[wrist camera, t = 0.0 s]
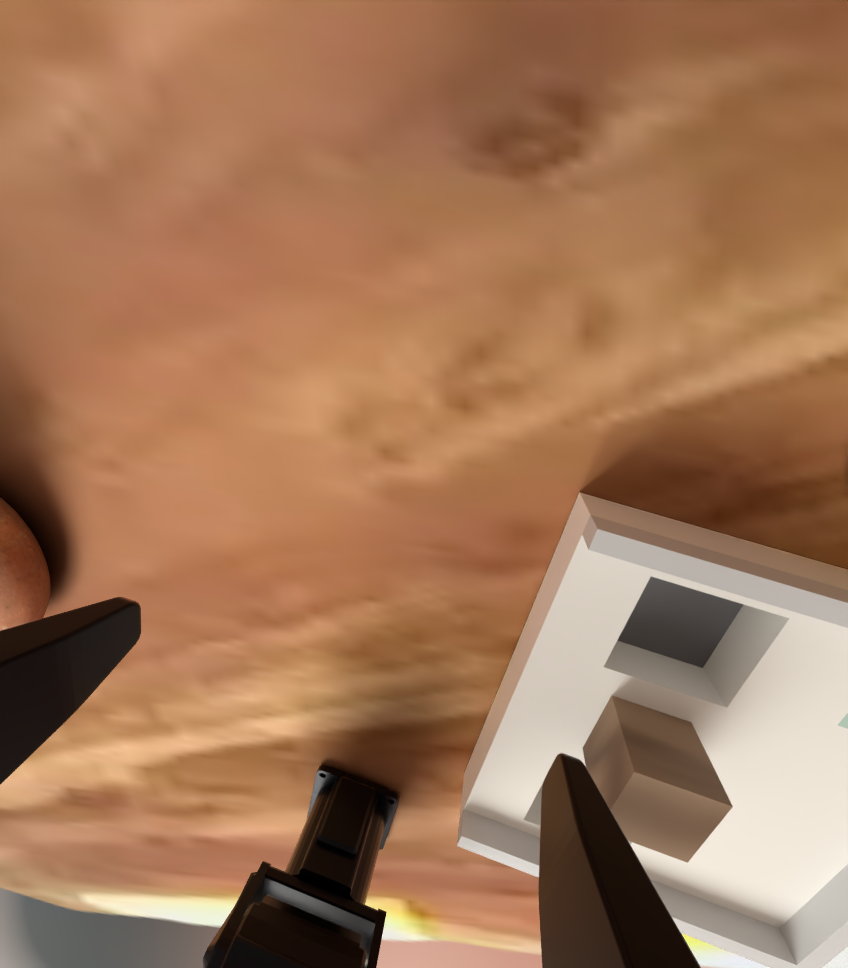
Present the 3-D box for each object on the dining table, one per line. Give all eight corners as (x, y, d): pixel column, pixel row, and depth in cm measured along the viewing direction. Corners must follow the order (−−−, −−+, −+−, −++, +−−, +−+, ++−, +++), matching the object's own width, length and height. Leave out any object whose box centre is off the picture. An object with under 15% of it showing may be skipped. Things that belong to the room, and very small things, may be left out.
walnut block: (656, 774, 22) (687, 862, 18) (582, 747, 22) (597, 829, 18) (691, 722, 20) (733, 806, 16) (611, 695, 21) (634, 771, 17)
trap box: (758, 880, 26) (805, 981, 22) (464, 772, 28) (456, 845, 24) (1008, 615, 19) (1153, 693, 14) (579, 492, 21) (597, 528, 16)
